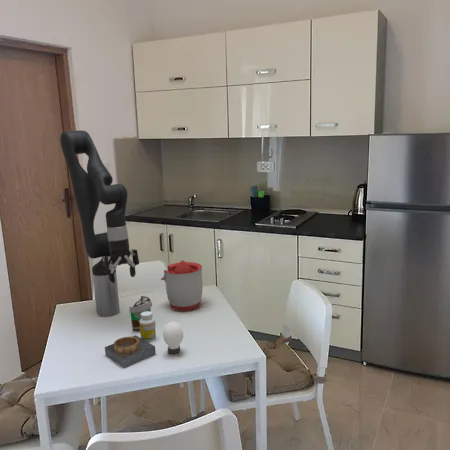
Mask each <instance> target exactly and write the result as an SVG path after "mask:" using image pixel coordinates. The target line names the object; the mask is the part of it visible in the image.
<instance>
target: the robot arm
mask: <svg viewBox="0 0 450 450" xmlns="http://www.w3.org/2000/svg"><path fill="white" fill-rule="evenodd" d="M59 138H60V139H59V140H60V147H61V151H62V154H63V156H64V160H65V162H66V167H67V170H68V173H69V176H70V181H71V184H72V190H73V194H74V200H75V203H76V206H77V209H78V211H77V212H78V215H79V220H80V224H81V229H82V237H83V243H84V248H85V252H86V254H87V256H88V257H89V258H90V259H98V258H101V259H100V260H99V261H98V262H96V263H95V264H94V265H93V266H92V267H91V272H92V279H93V280H92V281H93V292H94V301H95V310H96V315H97V316H98V317H99V316H100V317H112V316H115V315H118V314H119V313H120V311H121V308H120V299H119V288H118V279H117V278H118V277H117V267H118V266H120V265H124V264H127V265H128V266H129V275H130V277H132V278H135V276H136V266H138V265H139V264H140V260H139V253H138V250H137V249H135V248H131V250H130V242H129V233H128V232H129V231H128V228H127V221H126V209H127V202H128V191H127V188H126V187H125V185H124V184H123V183H116V184H115V183H114V184H113V181H114V179H113V176H112V174H111V173H110V172H109V170H108V168H107V167H106V166H105V163H104V162H103V161H102V159H101V156H100V154H99V153H98V149H97V147H96V146H95V143H94V141H93V139H92V137H91V136H90V134H89V133H88V131H86V130H68V131H62V132H61V134H60V137H59ZM82 154H85V155H86V156H87V157H88V159H87V163H86V170H85V169H84V167H82V165H81V164H80V161H79V159H78V157H77V155H82ZM100 203H101V204H102V205H106V206H108V205H114V204H115V205H114V208H112V209H110V210H108V211H106V213H105V222H106V231H104V232H101V233H95V228H94V227H95V226H94V225H95V218H96V215H97V213H98V209H99V207H100ZM130 256H131V257H132V259H131V258H130Z"/></svg>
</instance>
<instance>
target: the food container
mask: <svg viewBox="0 0 450 450" xmlns="http://www.w3.org/2000/svg"><path fill="white" fill-rule="evenodd" d="M152 307H153V302H152V300H151V298H150V297H148V296H145V295H141V296H140V299H138V300H137V301H136V302H135V303H134V304H133V306H129V311H128V312H129V314H130V319H131V320H130V321H131V327H132V332H140V319H141V313H142V312H146V311H149V312H152V311H151V310H152V309H151V308H152Z"/></svg>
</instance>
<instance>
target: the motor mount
mask: <svg viewBox="0 0 450 450" xmlns="http://www.w3.org/2000/svg"><path fill="white" fill-rule="evenodd" d="M104 355H105V357H107V358H108V359H110V360H111V361H113V362H115V363H116V364H117V365H119V366H120V367H121V368H123V369H125V368H128V367H130V366H132V365H135V364H137V363H139V362H141V361H143V360H144V361H145V360H146V359H148V358H149V359H150V358H151V357H154V356H156V355H157V353H156V345H153V344H152V343H150V342H147V341H145V340H143V339H141V336H140V337H139V336H138V335H133V336H123V337H121V338H118V339H116V340H115V341H114V342H113V343H112V344H109V345H107V346H104Z"/></svg>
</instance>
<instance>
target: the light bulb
mask: <svg viewBox="0 0 450 450" xmlns="http://www.w3.org/2000/svg"><path fill="white" fill-rule="evenodd" d="M162 337H163V341H164V343H165V344H166V345H167V346H168V347H167V355H170V356H177V355H179V354H181V343H182V342H183V339H184V330H183V327H182V325H181V324H180V323H179V322H178V321H175V320H172V321H171V320H170V321H168V322H167V323H166V324H165V325H164V327H163V330H162Z"/></svg>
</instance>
